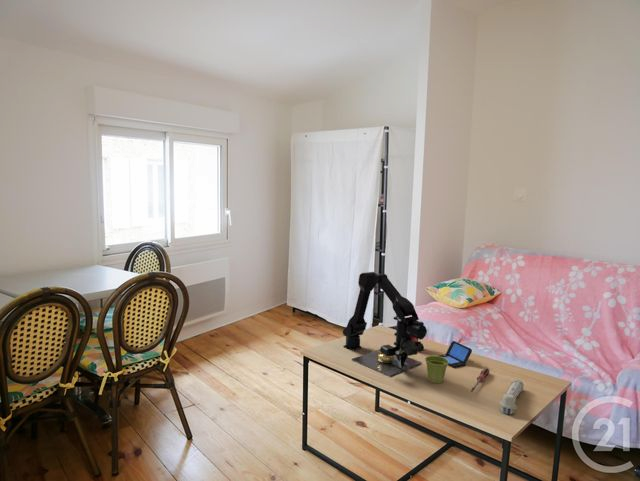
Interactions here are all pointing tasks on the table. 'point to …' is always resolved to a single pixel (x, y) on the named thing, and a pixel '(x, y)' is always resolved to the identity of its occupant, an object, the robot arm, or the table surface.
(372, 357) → the plate
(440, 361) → the plant pot
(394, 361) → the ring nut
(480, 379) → the screwdriver
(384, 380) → the table surface
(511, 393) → the light grey elongated piece
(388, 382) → the table surface
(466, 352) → the handheld game console
